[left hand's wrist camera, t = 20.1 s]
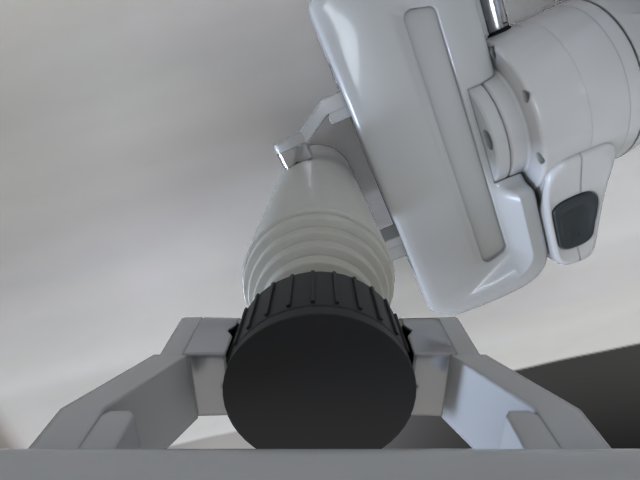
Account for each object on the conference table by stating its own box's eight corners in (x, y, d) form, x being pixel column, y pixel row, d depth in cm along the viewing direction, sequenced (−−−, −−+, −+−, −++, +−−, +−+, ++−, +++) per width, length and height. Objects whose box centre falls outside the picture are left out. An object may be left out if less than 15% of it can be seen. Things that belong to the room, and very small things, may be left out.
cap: (430, 304, 10) (457, 354, 8) (356, 423, 11) (365, 489, 9) (273, 241, 9) (261, 280, 7) (215, 376, 11) (194, 436, 9)
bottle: (266, 182, 28) (156, 382, 9) (315, 128, 27) (314, 224, 8) (318, 229, 30) (323, 491, 10) (367, 180, 28) (482, 374, 9)
